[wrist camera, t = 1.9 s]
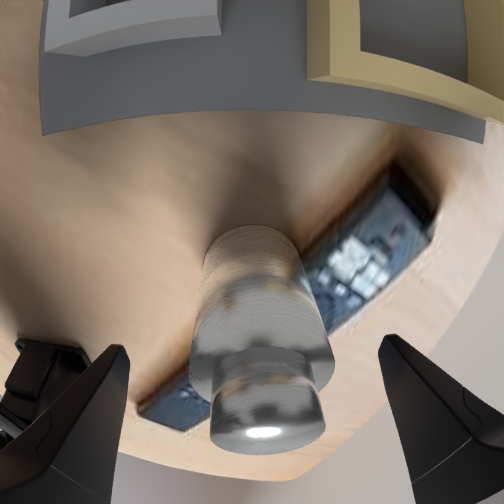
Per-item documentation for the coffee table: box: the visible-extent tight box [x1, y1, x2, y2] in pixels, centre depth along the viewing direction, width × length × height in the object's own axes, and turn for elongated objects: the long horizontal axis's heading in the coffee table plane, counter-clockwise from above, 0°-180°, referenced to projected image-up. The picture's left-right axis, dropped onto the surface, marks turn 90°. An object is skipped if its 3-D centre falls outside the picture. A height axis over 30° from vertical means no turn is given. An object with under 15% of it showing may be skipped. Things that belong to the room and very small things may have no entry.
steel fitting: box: [189, 225, 335, 455], centre depth 10 cm, size 4×4×8 cm
